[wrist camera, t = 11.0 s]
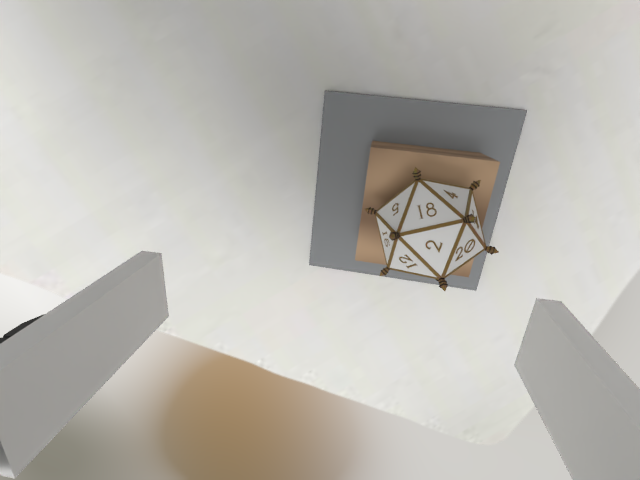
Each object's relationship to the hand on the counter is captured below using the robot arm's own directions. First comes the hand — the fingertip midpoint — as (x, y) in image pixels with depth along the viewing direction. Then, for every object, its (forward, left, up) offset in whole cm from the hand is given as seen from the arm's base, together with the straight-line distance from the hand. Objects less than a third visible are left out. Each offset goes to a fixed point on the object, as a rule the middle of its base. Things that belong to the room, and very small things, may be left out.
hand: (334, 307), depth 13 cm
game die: (+1, +5, -19) cm, 20 cm away
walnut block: (+1, +5, -25) cm, 25 cm away
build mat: (+1, +4, -26) cm, 26 cm away
